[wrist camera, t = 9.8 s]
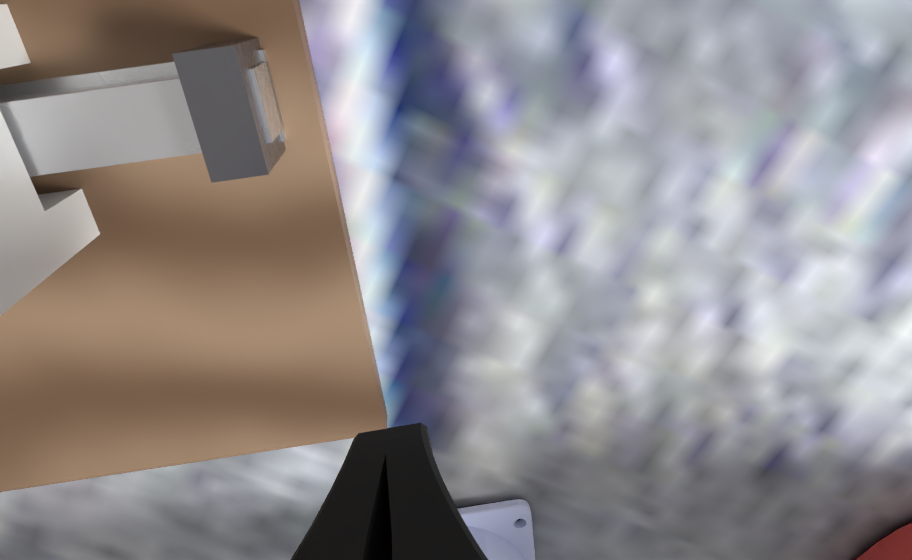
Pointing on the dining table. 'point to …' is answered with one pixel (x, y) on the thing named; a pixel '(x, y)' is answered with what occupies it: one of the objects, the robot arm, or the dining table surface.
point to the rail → (153, 114)
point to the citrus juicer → (892, 546)
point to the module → (32, 205)
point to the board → (186, 275)
